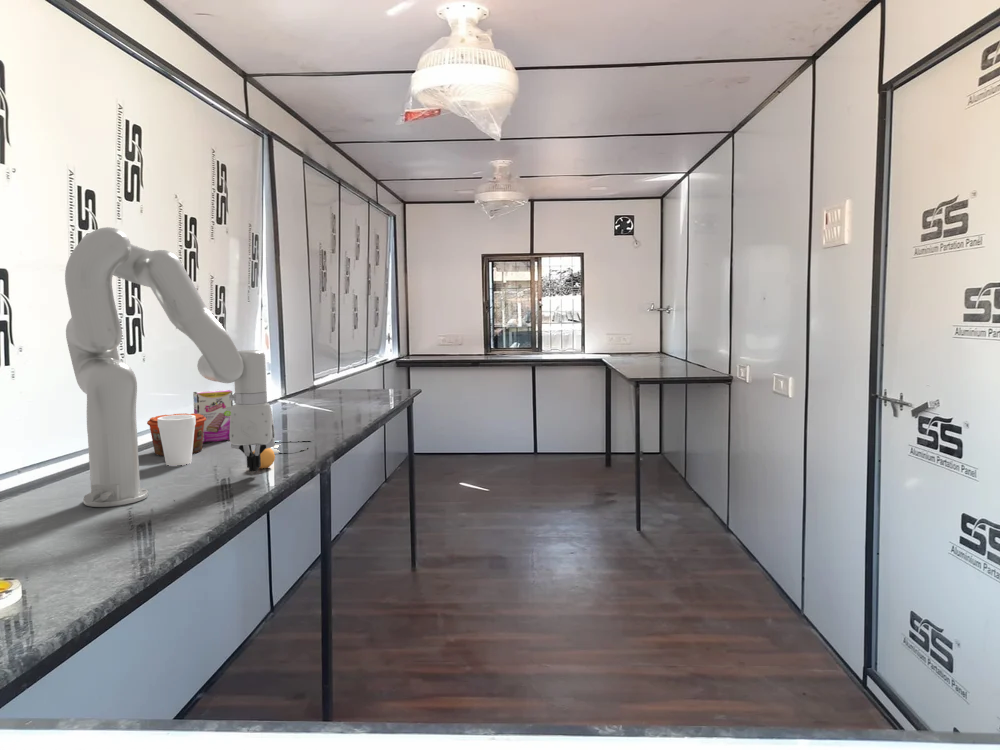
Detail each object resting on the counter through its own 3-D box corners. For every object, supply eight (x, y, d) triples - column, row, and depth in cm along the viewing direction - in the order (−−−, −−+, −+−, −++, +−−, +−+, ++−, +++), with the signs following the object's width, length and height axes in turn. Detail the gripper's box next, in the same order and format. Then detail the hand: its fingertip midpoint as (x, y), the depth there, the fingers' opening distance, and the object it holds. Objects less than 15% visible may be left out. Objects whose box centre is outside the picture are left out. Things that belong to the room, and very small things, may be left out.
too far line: (311, 441, 216) (311, 441, 216) (273, 442, 215) (273, 441, 215) (312, 440, 218) (312, 440, 218) (275, 441, 217) (275, 440, 217)
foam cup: (204, 460, 190) (201, 415, 188) (185, 467, 181) (183, 420, 179) (172, 459, 191) (170, 414, 189) (152, 467, 182) (150, 419, 180)
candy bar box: (198, 444, 213) (196, 393, 211) (194, 441, 217) (192, 391, 215) (234, 439, 220) (232, 390, 218) (229, 437, 224) (227, 389, 222)
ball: (272, 470, 177) (271, 448, 177) (249, 471, 177) (248, 448, 176) (277, 465, 183) (276, 443, 183) (255, 465, 183) (254, 444, 182)
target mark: (303, 453, 198) (303, 452, 198) (255, 454, 197) (255, 453, 197) (312, 444, 212) (312, 443, 212) (267, 445, 211) (267, 444, 211)
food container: (179, 459, 191) (177, 422, 190) (136, 455, 196) (134, 419, 195) (219, 448, 206) (217, 414, 205) (178, 445, 211) (176, 411, 210)
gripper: (215, 401, 164) (219, 474, 166) (277, 400, 166) (280, 473, 167) (225, 397, 172) (228, 467, 174) (284, 396, 173) (287, 466, 175)
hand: (254, 470), depth 170 cm, fingers closed
